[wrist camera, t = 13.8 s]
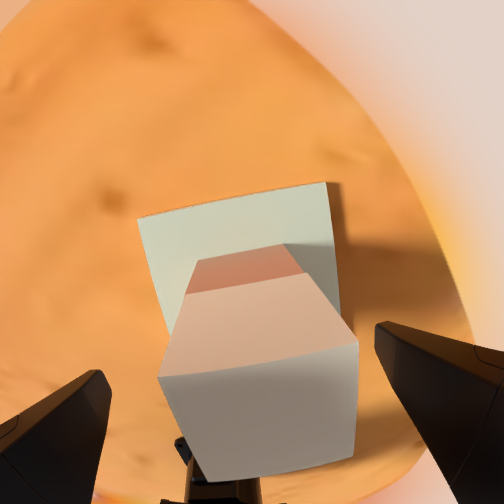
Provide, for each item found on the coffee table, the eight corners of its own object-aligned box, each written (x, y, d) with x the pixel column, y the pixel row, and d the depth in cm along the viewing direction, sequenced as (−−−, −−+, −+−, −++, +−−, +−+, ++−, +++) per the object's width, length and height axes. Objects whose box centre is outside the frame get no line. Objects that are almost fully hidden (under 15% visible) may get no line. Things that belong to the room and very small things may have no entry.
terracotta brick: (294, 319, 17) (316, 370, 12) (216, 334, 17) (212, 389, 12) (282, 243, 16) (304, 273, 11) (197, 260, 16) (184, 296, 11)
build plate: (337, 339, 19) (342, 346, 18) (186, 368, 18) (185, 377, 18) (320, 181, 16) (325, 182, 15) (142, 217, 16) (136, 219, 15)
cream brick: (316, 369, 12) (353, 456, 7) (213, 388, 12) (208, 482, 7) (307, 272, 11) (358, 341, 6) (185, 294, 11) (157, 376, 6)
